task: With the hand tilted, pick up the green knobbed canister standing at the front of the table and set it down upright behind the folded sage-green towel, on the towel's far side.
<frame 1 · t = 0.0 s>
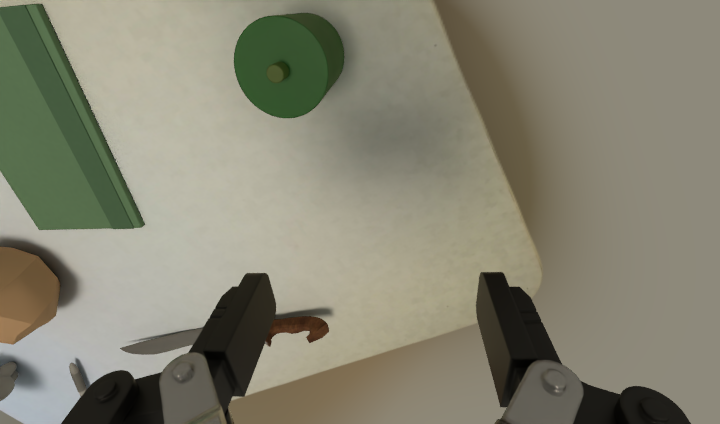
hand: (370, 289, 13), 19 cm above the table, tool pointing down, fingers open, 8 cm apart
pen: (88, 384, 54), on the table
figurine: (16, 366, 53), on the table
towel: (42, 135, 32), on the table
knife: (221, 325, 44), on the table
green knobbed canister: (308, 55, 27), on the table
squash: (19, 284, 43), on the table
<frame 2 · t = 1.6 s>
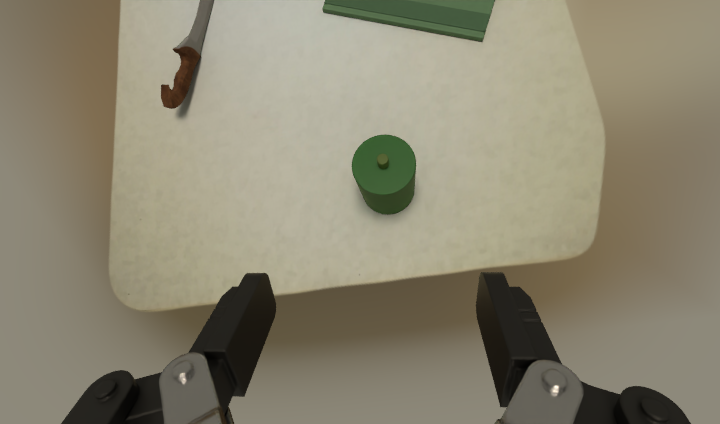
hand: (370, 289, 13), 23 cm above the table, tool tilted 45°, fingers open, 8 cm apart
knife: (208, 17, 47), on the table
green knobbed canister: (388, 189, 37), on the table
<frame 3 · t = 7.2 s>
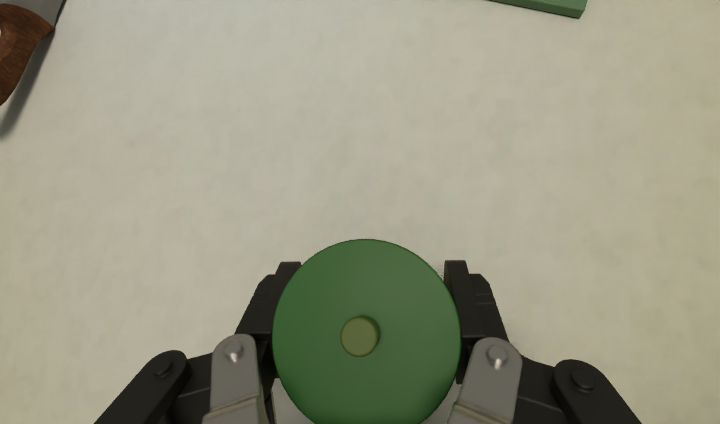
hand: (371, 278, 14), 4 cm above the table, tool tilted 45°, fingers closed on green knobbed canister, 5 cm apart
green knobbed canister: (379, 319, 17), on the table, touching gripper
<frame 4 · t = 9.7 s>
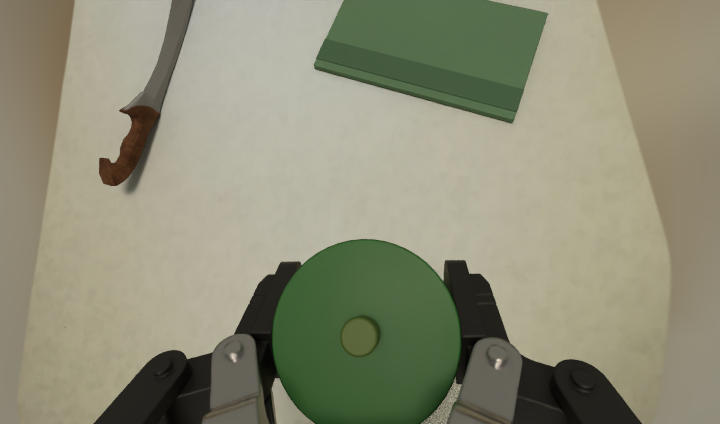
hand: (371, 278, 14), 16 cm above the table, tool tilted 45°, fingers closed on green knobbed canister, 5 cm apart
towel: (427, 43, 35), on the table
knife: (174, 63, 38), on the table
green knobbed canister: (379, 319, 17), point 12 cm above the table, touching gripper
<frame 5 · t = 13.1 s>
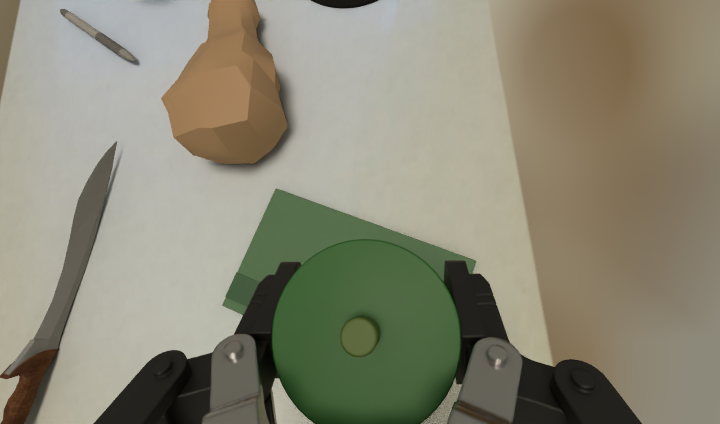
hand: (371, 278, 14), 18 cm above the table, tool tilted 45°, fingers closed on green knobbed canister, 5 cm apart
pen: (104, 41, 42), on the table
towel: (346, 284, 32), on the table
knife: (79, 282, 35), on the table
green knobbed canister: (379, 319, 17), point 14 cm above the table, touching gripper
squash: (244, 94, 38), on the table
when the fingers open (4 cm above the table, at t = 19.1 s): green knobbed canister stays where it is, on the table.
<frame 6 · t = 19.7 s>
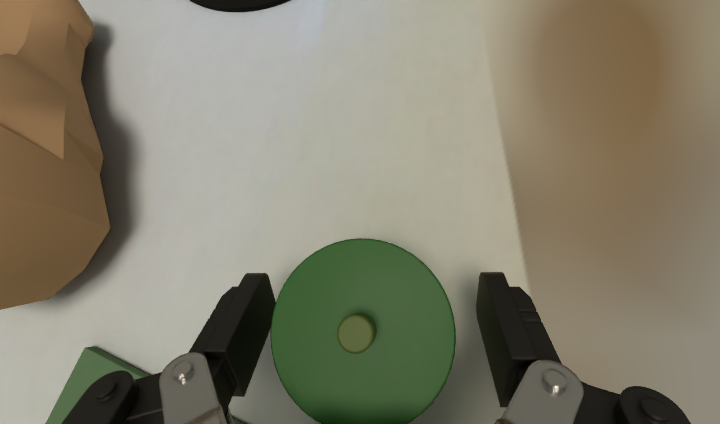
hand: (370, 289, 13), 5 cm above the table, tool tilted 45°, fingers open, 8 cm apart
green knobbed canister: (377, 318, 18), on the table
squash: (65, 158, 22), on the table
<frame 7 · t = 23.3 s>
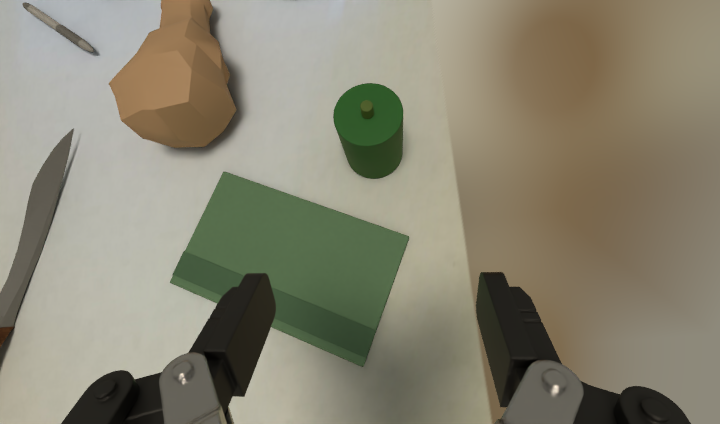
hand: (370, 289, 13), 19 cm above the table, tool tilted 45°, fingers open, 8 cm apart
pen: (65, 33, 44), on the table
towel: (288, 260, 33), on the table
knife: (36, 263, 36), on the table
green knobbed canister: (374, 152, 35), on the table
squash: (198, 82, 40), on the table
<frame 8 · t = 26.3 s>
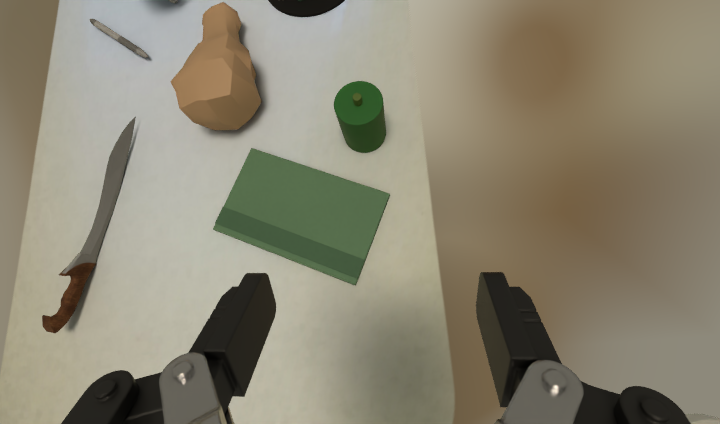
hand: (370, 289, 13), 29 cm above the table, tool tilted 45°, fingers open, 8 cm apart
pen: (123, 42, 56), on the table
towel: (300, 212, 45), on the table
knife: (109, 218, 48), on the table
green knobbed canister: (365, 133, 46), on the table
squash: (230, 80, 51), on the table
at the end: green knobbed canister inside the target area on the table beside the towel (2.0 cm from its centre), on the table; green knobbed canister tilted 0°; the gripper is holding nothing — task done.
